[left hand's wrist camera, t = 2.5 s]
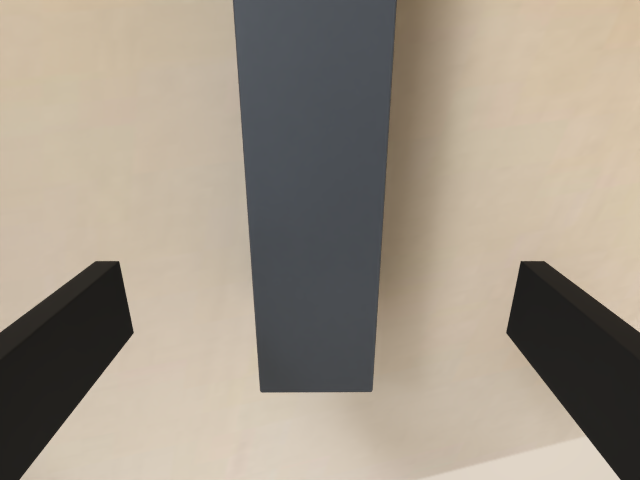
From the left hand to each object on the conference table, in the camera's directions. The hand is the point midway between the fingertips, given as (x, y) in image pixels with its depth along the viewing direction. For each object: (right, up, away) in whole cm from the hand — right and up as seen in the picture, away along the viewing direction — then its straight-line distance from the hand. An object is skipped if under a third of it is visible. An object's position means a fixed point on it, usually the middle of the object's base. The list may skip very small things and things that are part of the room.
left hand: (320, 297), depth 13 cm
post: (0, +23, +4) cm, 24 cm away
